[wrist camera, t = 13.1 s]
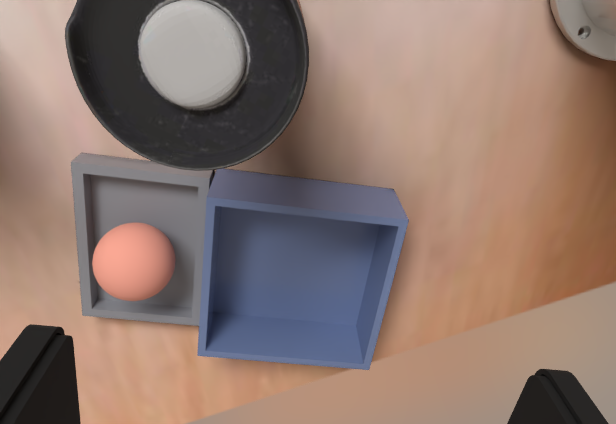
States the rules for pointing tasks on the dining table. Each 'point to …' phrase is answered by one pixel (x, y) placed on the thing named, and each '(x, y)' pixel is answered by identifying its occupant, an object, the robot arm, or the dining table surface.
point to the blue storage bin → (297, 269)
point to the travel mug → (190, 75)
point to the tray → (150, 210)
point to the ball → (133, 261)
